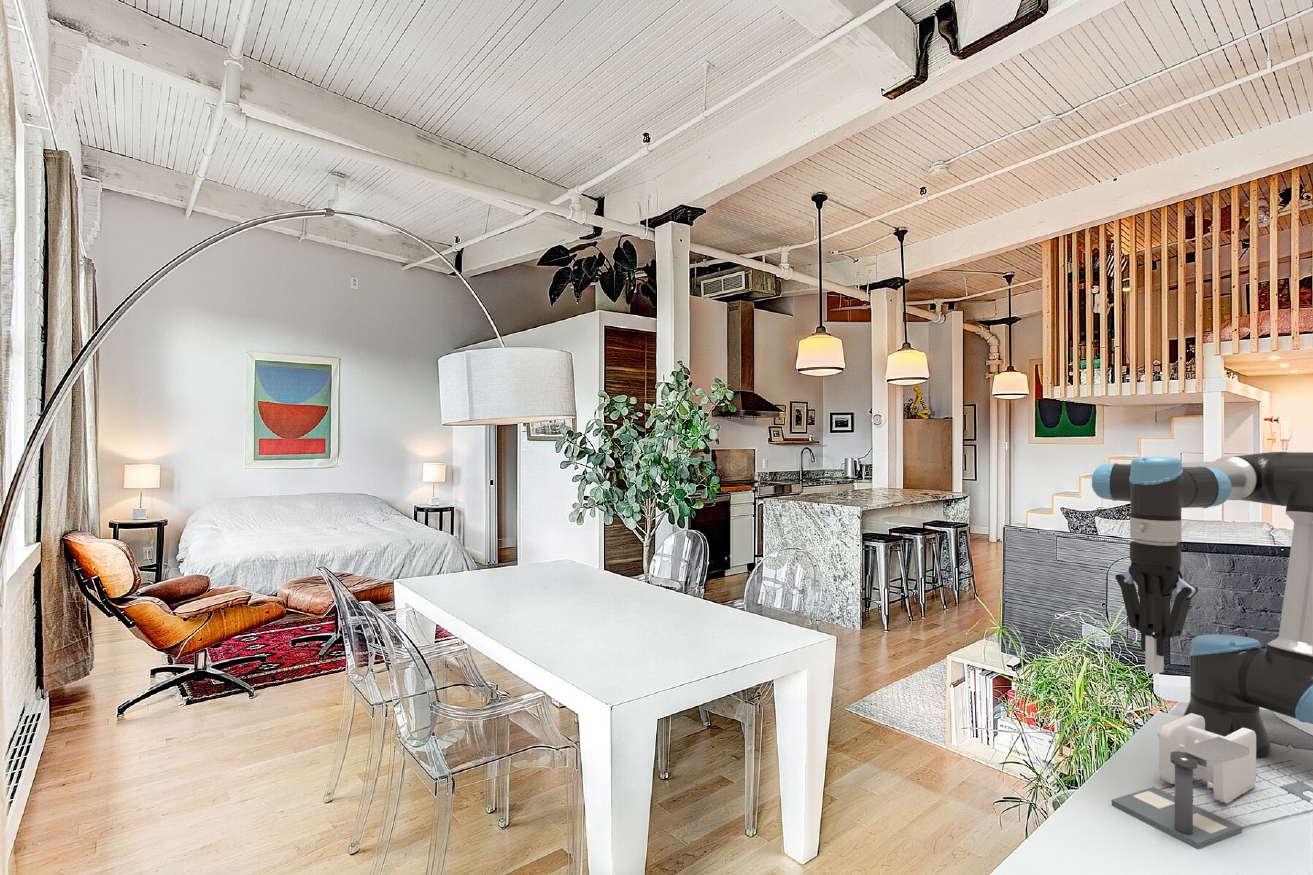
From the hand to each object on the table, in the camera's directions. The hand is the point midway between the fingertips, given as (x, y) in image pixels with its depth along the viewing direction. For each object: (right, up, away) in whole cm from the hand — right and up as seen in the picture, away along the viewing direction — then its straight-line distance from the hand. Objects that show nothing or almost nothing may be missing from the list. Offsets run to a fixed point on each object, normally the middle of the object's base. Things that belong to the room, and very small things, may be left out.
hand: (1154, 671), depth 122 cm
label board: (+1, -24, -4) cm, 25 cm away
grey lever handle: (+4, -12, -7) cm, 15 cm away
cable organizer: (+15, -25, +7) cm, 30 cm away
